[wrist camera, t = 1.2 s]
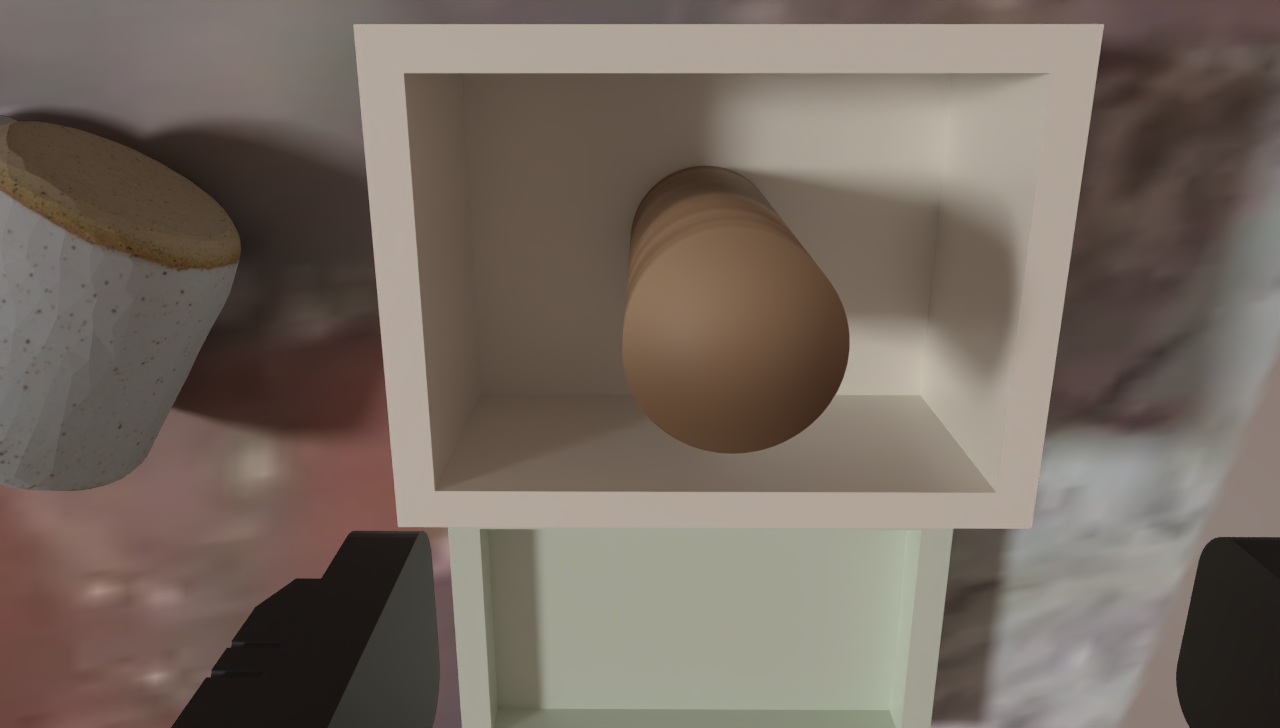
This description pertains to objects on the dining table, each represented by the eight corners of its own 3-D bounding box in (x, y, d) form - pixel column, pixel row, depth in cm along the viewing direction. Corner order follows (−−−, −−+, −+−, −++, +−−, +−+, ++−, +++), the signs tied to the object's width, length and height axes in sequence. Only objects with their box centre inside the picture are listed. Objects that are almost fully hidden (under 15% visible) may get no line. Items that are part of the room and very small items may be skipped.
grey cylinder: (295, 224, 30) (177, 278, 23) (190, 430, 32) (52, 540, 25) (-27, 35, 28) (-264, 28, 21) (-114, 265, 31) (-356, 330, 23)
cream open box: (432, 29, 28) (353, 24, 21) (980, 29, 28) (1104, 24, 20) (456, 411, 32) (398, 527, 24) (939, 413, 32) (1031, 528, 24)
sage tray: (460, 467, 33) (446, 500, 30) (933, 468, 32) (956, 501, 30) (476, 713, 36) (464, 760, 33) (907, 714, 36) (926, 762, 33)
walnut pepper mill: (630, 165, 28) (621, 236, 18) (779, 165, 28) (857, 236, 18) (630, 309, 30) (622, 453, 19) (773, 309, 30) (841, 454, 19)
